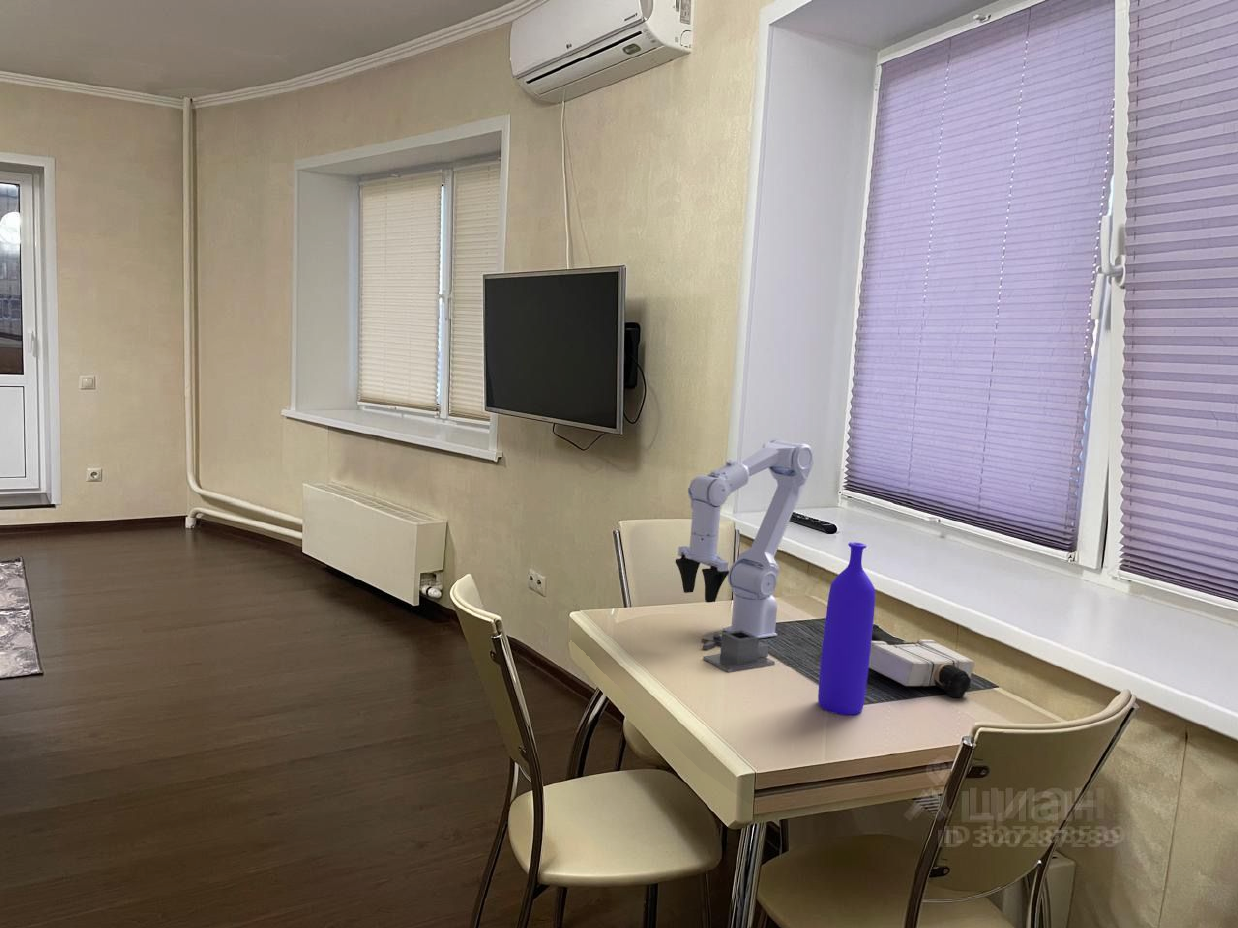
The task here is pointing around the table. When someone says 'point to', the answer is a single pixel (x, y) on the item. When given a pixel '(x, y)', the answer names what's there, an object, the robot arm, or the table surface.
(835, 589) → the bottle
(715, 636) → the gray t-shaped latch
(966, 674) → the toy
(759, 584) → the robot arm
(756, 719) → the table surface
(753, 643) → the gray hollow cube
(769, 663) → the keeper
